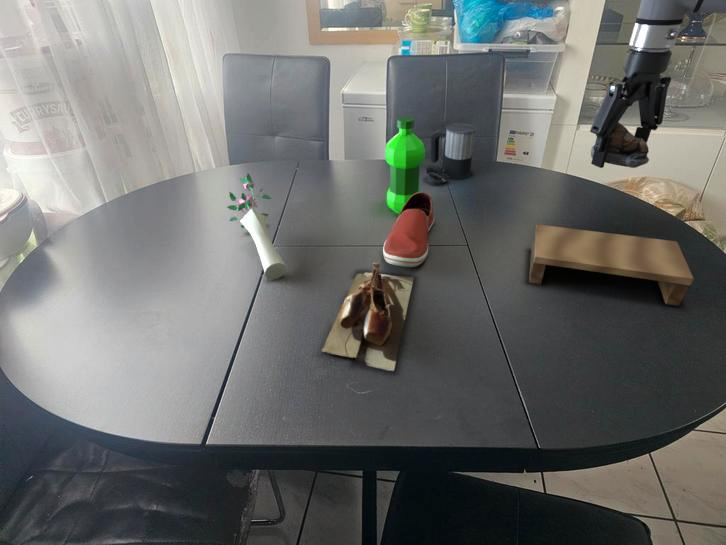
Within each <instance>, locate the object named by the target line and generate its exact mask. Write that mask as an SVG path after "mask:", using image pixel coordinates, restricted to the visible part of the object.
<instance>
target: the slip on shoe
mask: <svg viewBox="0 0 726 545" xmlns="http://www.w3.org/2000/svg"><path fill="white" fill-rule="evenodd" d="M434 222H435V215H434V204H433V197H432V196H431V195H430V194H429V193H427V192H423V191H420V192H419V193H416V194H414V195H412V196H411V197H410V198H409V199H408V201H407V202H406V204H405V205H404V206H403V208H402V210H401V212H400V214H398V217H397V219H396V221H395V222H394V224H393V226H392V228H391V229H390V231H389V234H388V236H387V238H386V240H385V241H384V244H383V247H382V255H383V259H384V260H385V262H386V263H388V264H390V265H393V266H397V267H402V268H403V267H405V268H414V267H417V266H418V267H419V266H420V265H421V264H422V263H423V262H425V260H426V259H427V257H428V255H429V243H428V241H429V232H430V230H431V229H432V226H433V225H434Z"/></svg>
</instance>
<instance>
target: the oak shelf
mask: <svg viewBox="0 0 726 545" xmlns="http://www.w3.org/2000/svg"><path fill="white" fill-rule="evenodd" d="M530 248H531V249H530V259H529V278H528V283H531V284H538V285H542V283H543V282H542V281H543V278H544V274H545V270H546V266H552V267H560V268H568V269H573V270H581V271H588V272H596V273H601V274H607V275H613V276H615V275H616V276H621V277H622V276H623V277H628V278H629V277H630V278H636V279H642V280H651V281H657V283H658V286H659V289H660V291H661V295H662V299H663V301H664V304H666V305H670V306H677V307H678V306H680V305H681V303H682V301H683V299H684V297H685V294H686V293H687V291H688V289H689V286H691V285H692V283H693V281H694V278H695V277H694V276H693V274H692V271H691V270H690V267H689V265H688V262H687V260H686V258H685V256H684V253H683V252H682V249H681V247H680V245H679V242H678V241H676V240H667V239H660V238H652V237H644V236H637V235H628V234H627V235H626V234H620V233H611V232H602V231H594V230H585V229H578V228H577V229H576V228H572V227H571V228H570V227H562V226H561V227H560V226H552V225H544V224H536V225H535V230H534V234H533V239H532V244H531V247H530Z"/></svg>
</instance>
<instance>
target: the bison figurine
mask: <svg viewBox="0 0 726 545" xmlns="http://www.w3.org/2000/svg"><path fill="white" fill-rule="evenodd" d="M605 131H606V129H605ZM595 136H596V137H597V134H595ZM609 136H610V137H612V139H611V143H610V146H609V150H608V153H607V157H606V160H605V164H609V165H614V166H620V167H624V168H625V167H626V168H631V169H635V168H639V167H640V166H644V165H646V164H648V163H649V161H650V158H649V157H648V154H649V146H648V142H647V143H646V142H645V141H644V140H643V139H641V138H636V137H634V134H633V133H631V132H630V131H629V130H628V128H626V126H624V125H623V124H622V123H621V122H620V121H619V122H618V123H617V125H616V126H615V128H614V129H613V131H612V132H611V134H610V135H609ZM594 146H595V144H594V145H593V146H592V147H591V149H590V158H592V159H593V155H594V151H595V150H594Z"/></svg>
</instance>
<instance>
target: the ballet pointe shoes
mask: <svg viewBox="0 0 726 545" xmlns="http://www.w3.org/2000/svg"><path fill="white" fill-rule="evenodd" d="M380 266H381V263H380V262H373V263H372V267H373V269H372V270H371V272H366V271H365V272H364V273H363V274H362V273H358V274H356V276H355V278H354V280H353V282H352V284H351V286H350V289H349V290H348V293H347V295H346V298H344V299H343V301H344V302H343V303H342V304H341V305H340V307H339V309H340V310H339V311H338V314H337V316H336V318H335V320H334V322H333V323H332V327H331V328H330V331H329V333H328V336H327V338H326V340H325V342H324V345H323V346H322V347H323V348H322V349H321V352H322V353H327V354H331V355H336V356H337V355H338V356H341V357H347V358H351V359H353V358H355V363H357V362H358V360H359V356H360V355H361V354H364V351H365V350H366V354H365V359H364V362H365V363H366V365H367V366H369V367H372V368H375V369H382V370H385V371H390V372H391V371H392V372H394V371H395V368H396V363H397V359H398V354H399V349H400V344H401V340H402V335H403V331H404V325H405V324H404V323H405V322H406V321H405V320H406V318H407V316H406V315H407V311H408V306H409V301H410V298H411V293H412V288H413V285H414V284H413V282H414V277H413V276H406V275H392V274H384V273H379V272H380ZM365 344H366V345H365Z"/></svg>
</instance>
